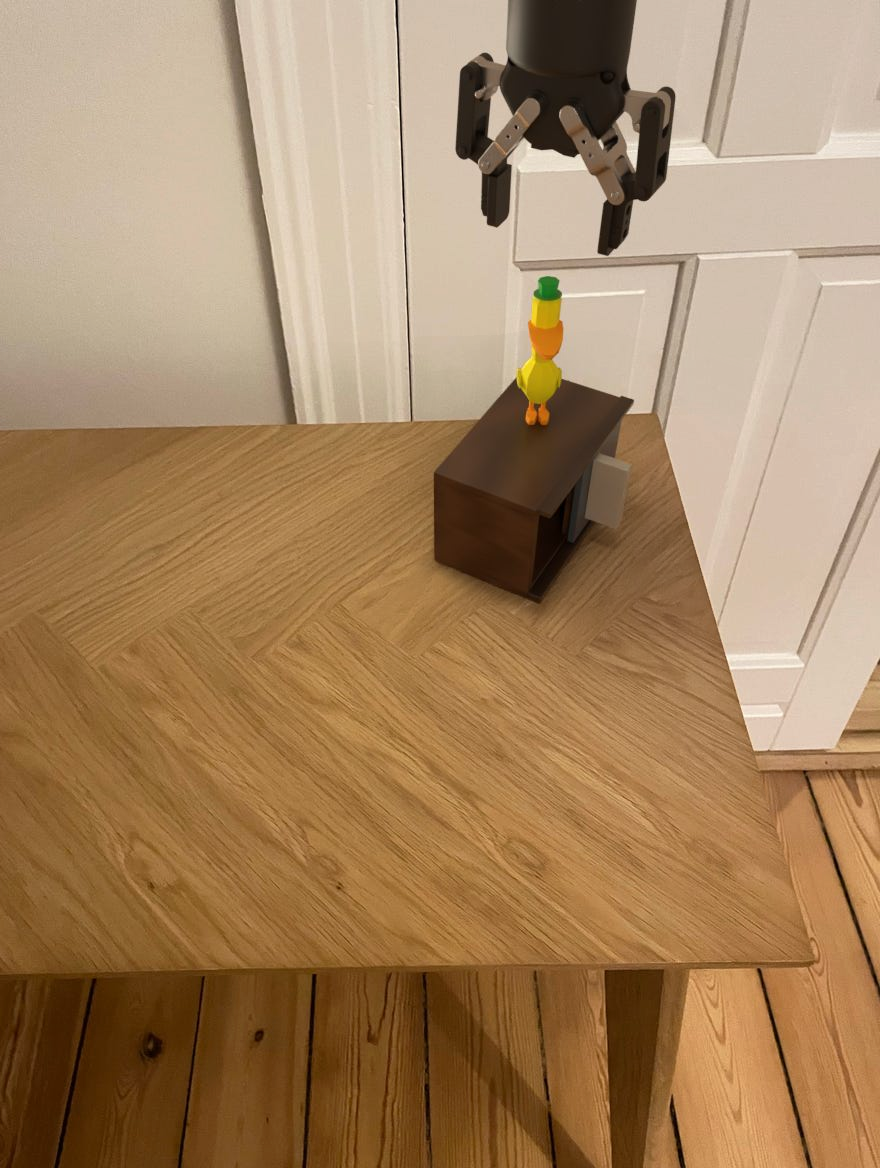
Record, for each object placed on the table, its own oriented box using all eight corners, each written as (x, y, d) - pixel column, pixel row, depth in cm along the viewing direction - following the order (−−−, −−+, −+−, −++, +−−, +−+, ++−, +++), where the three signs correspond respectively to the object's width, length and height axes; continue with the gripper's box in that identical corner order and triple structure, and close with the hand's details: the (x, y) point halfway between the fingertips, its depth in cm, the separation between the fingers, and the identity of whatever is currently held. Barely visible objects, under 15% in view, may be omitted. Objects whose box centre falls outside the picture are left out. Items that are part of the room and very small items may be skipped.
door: (640, 502, 87) (656, 427, 80) (605, 555, 83) (619, 480, 76) (603, 489, 88) (615, 413, 82) (566, 540, 84) (577, 465, 78)
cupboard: (617, 491, 89) (634, 399, 81) (539, 604, 81) (550, 514, 73) (518, 455, 93) (525, 364, 85) (434, 560, 84) (433, 470, 77)
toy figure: (561, 444, 78) (578, 311, 69) (517, 445, 78) (527, 312, 69) (554, 393, 83) (569, 261, 73) (512, 394, 83) (521, 262, 73)
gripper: (717, -37, 55) (667, 235, 68) (495, -68, 60) (487, 191, 73) (667, 6, 51) (624, 287, 64) (435, -31, 56) (437, 236, 69)
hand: (551, 235), depth 68 cm, fingers open, 8 cm apart
